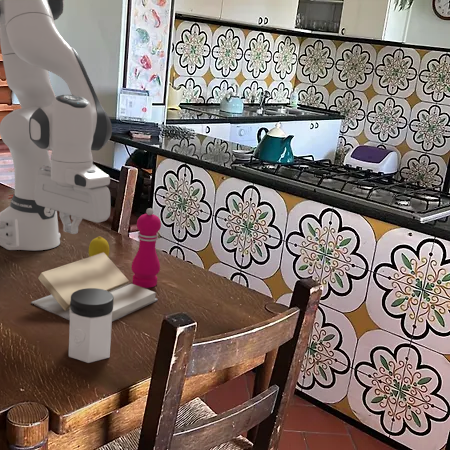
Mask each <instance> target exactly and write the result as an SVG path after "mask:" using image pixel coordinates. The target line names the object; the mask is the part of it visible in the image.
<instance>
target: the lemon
mask: <svg viewBox="0 0 450 450" xmlns="http://www.w3.org/2000/svg"><path fill="white" fill-rule="evenodd" d="M103 252H104V253H105V254H106V255H107V257H108V258H109V256H110V244H109V242H108V240H106V238H104V237H102V236H99V235H98V236H97V237H95V238H93V239H92V240H91V241H90V243H89V246H88V257H91V256H94V255H97V254H100V253H103Z"/></svg>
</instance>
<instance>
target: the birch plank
mask: <svg viewBox="0 0 450 450" xmlns="http://www.w3.org/2000/svg"><path fill="white" fill-rule="evenodd" d="M37 280H39V281H40V283H41V284H42V285H43V286H44V287H45V289H46V290H47V291H48V292H49V294H50V295H52V296H53V297H54V298H55V299H56V301H57V302H58V303H59V304H60V305H61V307H62V308H63V309H64V310H68V309H70V301H71V295H72V294H73V293H74V292H75V291H78V290H81V289H87V288H97V289H103V290H106V291H108V292H109V291H111V290H114V289H116V288H119V287H121V286H124V285H126V284H129V283H130V280H129V279H128V278H127V277H126V276H125V274H124V273H123V272H122V271H121V270H120V269H119V267H118V266H116V264H115V263H114V262H113V260H111V259H110V258H109V256H108V257H107V255H106V254H105V253H104V252H103V253H100V254H97V255H94V256H91V257H89V256H88V257H86V258H82V259H79V260H76V261H73V262H69V263H67V264H64V265H61V266H58V267H55V268H52V269H48V270H45V271H43V272H40V274H39V276H38V279H37Z"/></svg>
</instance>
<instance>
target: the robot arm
mask: <svg viewBox="0 0 450 450" xmlns="http://www.w3.org/2000/svg"><path fill="white" fill-rule="evenodd" d="M64 6H65V0H0V50H1V55H2V56H1V57H2V63H3V68H4V69H3V70H4V73H5V79H6V85H7V86H8V88H9V89H10V91H12V92H13V93H14V95H15V96H16V98H17V101H18V102H19V105H20V108H17V109H15V110H13V111H11V112H9V113H8V114H6V115H5V116H4V117H3V118H2V119H1V121H0V138H1V140H2V142H3V143H4V145H6V147H8V150H9V151H10V155H11V158H12V162H13V169H14V193H12V194H8V195H7V197H8V198H7V199H8V200H10V204H9V205H8V207H6V208H5V209H3V210H2V211H0V246H1V247H3V248H4V249H6V250H8V251H17V250H18V251H20V250H21V251H43V250H45V251H46V250H50V249H53V248H56V247H58V246H59V245H60V244H61V240H60V239H61V233H60V231H59V221H58V215H59V218H60V220H61V222H62V224H63V225H62V227H63V228H62V229H63V232H65V233H69V234H72V235H76V234H78V232H79V226H80V224H81V223H82V221H83V220H87V221H90V222H93V223H97V224H98V223H101V222H105V221H107V220H108V219H109V218H110V216H111V207H112V206H111V192H110V189H109V187H108V186H109V185H110V183H111V177H110V175H109V174H107V173H106V172H104V171H103V170H102V169H100V168H99V167H98V166H96V165H95V164H94V161H93V159H94V158H93V153H92V151H100V150H101V149H103V148H104V147H105V146H106V145H107V143H108V142H109V141H110V139H111V137H112V135H113V134H112V133H113V126H112V122H111V118H110V117H109V115H108V113H107V111H106V110H105V109H104V107H103V106H102V104H101V102H100V99H99V98H98V94H97V93H96V90H95V87H94V86H93V84H92V82H91V80H90V77H89V75H88V73H87V71H86V68H85V66H84V64H83V61H82V59H81V58H80V55H79V53H78V52H77V51H76V49H75V48H74V47H73V46H71V45H69V43H68V42H67V41H66V40H65V39H64V38H63V36H62V35H61V34H60V32H59V30H58V28H57V25H56V23H55V21H56V20H58V19H59V18H60V17H61V16H62V14H63V12H64ZM49 72H50V73H52V74H54V75H56V76H58V77H59V78H60V79H62V81H64V82H65V83H66V85H67V87H68V89H69V92H70V93H71V94H60V95H57V96H56V94H55V91H54V87H53V85H52V82H51V77H50V73H49ZM49 151H51V156H50V152H49ZM58 212H59V213H58ZM71 220H72V221H71Z"/></svg>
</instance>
